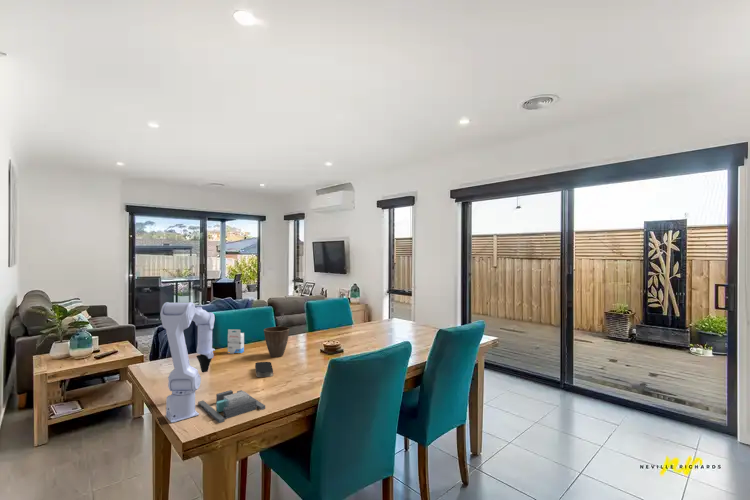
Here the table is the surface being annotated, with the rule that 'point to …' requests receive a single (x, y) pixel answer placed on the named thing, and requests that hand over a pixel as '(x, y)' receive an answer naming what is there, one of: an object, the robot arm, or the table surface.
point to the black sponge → (263, 369)
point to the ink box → (235, 341)
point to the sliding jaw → (221, 400)
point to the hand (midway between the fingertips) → (204, 371)
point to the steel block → (235, 398)
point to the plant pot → (276, 340)
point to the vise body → (232, 409)
